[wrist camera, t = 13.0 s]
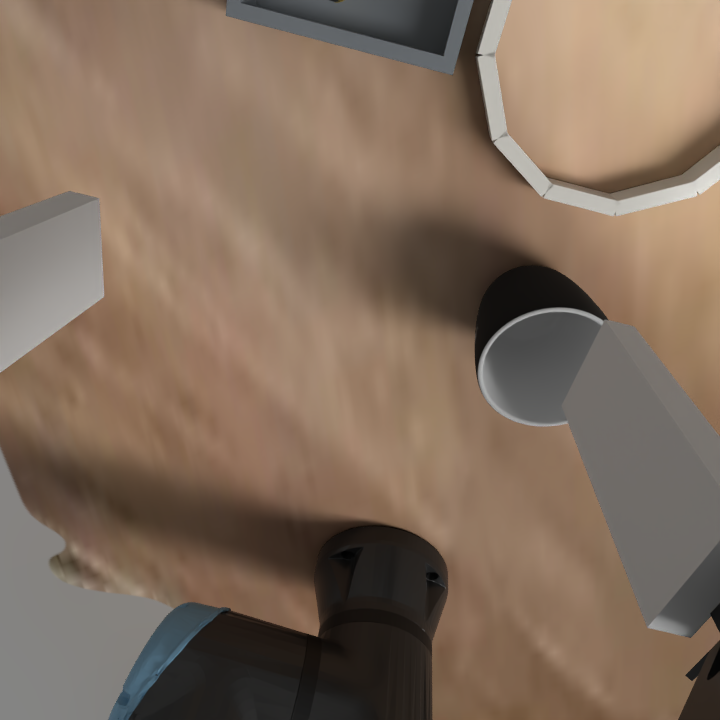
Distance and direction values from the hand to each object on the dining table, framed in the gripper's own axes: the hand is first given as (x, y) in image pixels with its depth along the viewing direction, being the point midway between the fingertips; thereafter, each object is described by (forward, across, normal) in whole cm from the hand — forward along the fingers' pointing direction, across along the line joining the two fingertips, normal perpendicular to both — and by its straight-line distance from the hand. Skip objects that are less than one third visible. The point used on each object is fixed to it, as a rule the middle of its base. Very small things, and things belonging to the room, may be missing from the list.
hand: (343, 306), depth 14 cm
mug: (+27, -14, +10) cm, 32 cm away
